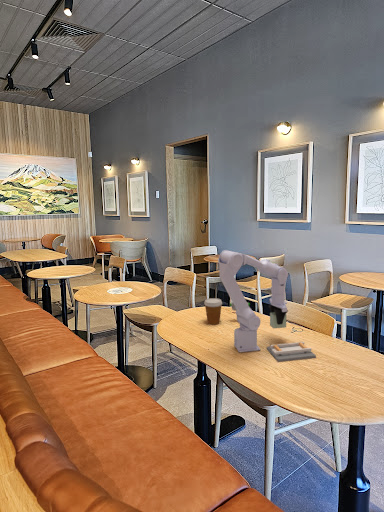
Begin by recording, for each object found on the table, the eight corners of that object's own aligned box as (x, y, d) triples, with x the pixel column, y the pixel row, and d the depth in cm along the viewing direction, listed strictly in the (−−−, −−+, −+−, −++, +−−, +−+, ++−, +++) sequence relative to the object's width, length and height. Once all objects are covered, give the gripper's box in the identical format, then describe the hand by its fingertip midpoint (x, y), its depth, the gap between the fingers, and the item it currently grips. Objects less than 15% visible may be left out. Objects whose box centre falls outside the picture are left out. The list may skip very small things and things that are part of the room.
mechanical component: (250, 321, 175) (249, 303, 174) (230, 322, 176) (230, 303, 174) (249, 319, 178) (249, 301, 177) (229, 320, 178) (229, 302, 177)
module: (273, 328, 147) (273, 315, 146) (269, 325, 151) (270, 312, 150) (286, 327, 148) (286, 314, 147) (282, 324, 152) (282, 311, 151)
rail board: (277, 361, 131) (278, 354, 131) (266, 348, 143) (266, 342, 142) (315, 357, 134) (316, 350, 133) (301, 345, 145) (301, 338, 145)
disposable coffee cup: (202, 320, 179) (201, 299, 177) (218, 318, 182) (218, 297, 180) (208, 326, 170) (207, 304, 168) (225, 324, 173) (225, 302, 171)
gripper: (294, 296, 141) (293, 327, 143) (279, 288, 155) (279, 316, 157) (278, 298, 140) (277, 328, 142) (265, 289, 154) (265, 317, 156)
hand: (277, 322), depth 150 cm, fingers closed on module, 4 cm apart
